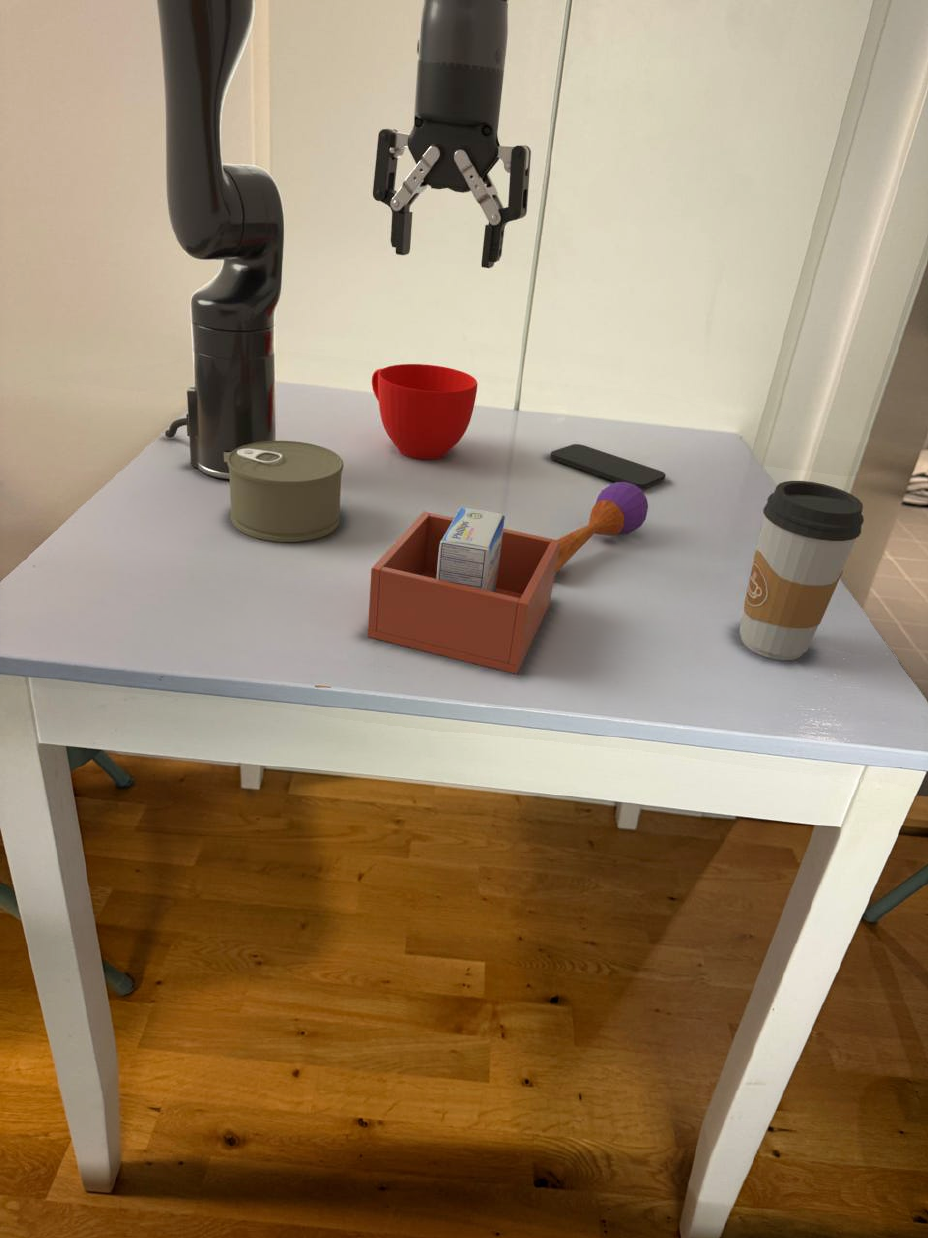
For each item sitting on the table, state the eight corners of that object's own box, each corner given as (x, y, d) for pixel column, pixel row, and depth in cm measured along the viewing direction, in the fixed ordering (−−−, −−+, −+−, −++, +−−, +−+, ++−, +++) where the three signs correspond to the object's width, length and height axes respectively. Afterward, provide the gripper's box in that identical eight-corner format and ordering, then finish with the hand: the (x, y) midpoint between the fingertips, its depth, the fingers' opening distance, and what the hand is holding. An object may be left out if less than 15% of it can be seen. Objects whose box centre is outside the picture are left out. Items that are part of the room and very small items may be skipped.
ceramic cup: (405, 421, 131) (410, 352, 126) (489, 456, 122) (498, 383, 117) (335, 435, 123) (338, 362, 118) (420, 475, 113) (426, 397, 108)
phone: (577, 442, 128) (669, 473, 120) (576, 448, 129) (668, 479, 121) (547, 452, 123) (641, 485, 115) (546, 458, 123) (640, 491, 116)
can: (312, 552, 92) (313, 489, 88) (207, 528, 94) (204, 466, 91) (358, 511, 102) (360, 453, 98) (262, 490, 104) (261, 433, 101)
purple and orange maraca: (515, 532, 91) (610, 472, 105) (519, 585, 94) (611, 520, 108) (565, 541, 88) (657, 478, 102) (568, 595, 91) (656, 527, 104)
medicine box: (479, 637, 79) (491, 548, 74) (430, 627, 79) (439, 539, 75) (495, 596, 86) (506, 513, 81) (449, 588, 86) (458, 504, 82)
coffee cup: (715, 619, 88) (755, 475, 80) (795, 623, 89) (842, 481, 81) (745, 666, 81) (792, 513, 73) (832, 669, 82) (887, 519, 74)
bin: (367, 637, 78) (371, 567, 75) (418, 573, 90) (423, 510, 87) (516, 674, 76) (527, 604, 72) (549, 603, 87) (560, 540, 84)
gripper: (550, 72, 79) (525, 266, 87) (399, 55, 82) (388, 245, 90) (531, 66, 73) (506, 277, 81) (368, 48, 75) (359, 253, 83)
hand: (444, 260), depth 85 cm, fingers open, 8 cm apart
